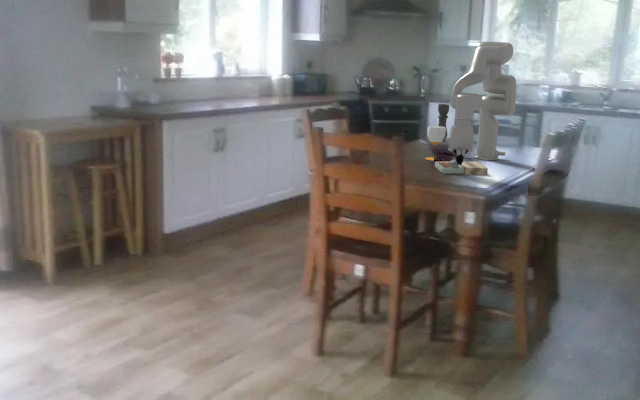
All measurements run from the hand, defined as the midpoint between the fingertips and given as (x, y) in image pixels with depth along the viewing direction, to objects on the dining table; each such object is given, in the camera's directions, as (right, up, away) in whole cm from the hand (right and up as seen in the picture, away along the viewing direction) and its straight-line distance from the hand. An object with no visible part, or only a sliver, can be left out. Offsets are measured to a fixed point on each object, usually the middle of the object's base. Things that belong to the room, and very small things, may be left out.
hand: (459, 164), depth 300 cm
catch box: (-4, -3, +5) cm, 7 cm away
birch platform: (+7, -3, +6) cm, 9 cm away
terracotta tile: (-5, +1, +8) cm, 10 cm away
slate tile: (-1, 0, 0) cm, 1 cm away
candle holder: (+1, +9, +55) cm, 56 cm away
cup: (-6, +4, +32) cm, 33 cm away
